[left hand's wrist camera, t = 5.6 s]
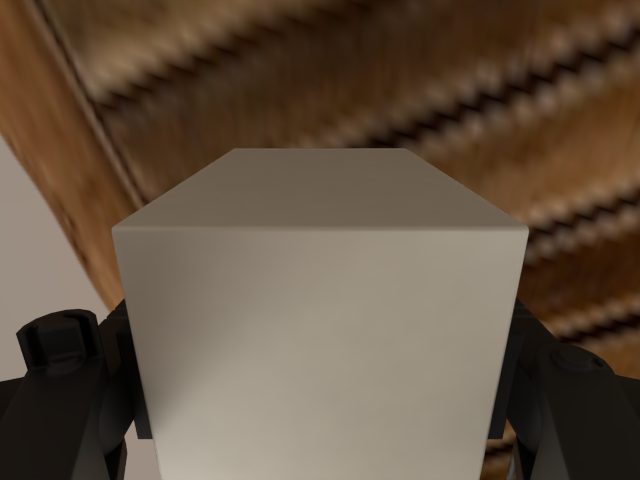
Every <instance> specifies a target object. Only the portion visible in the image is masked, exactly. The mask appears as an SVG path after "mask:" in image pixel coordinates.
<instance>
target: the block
mask: <svg viewBox="0 0 640 480" xmlns="http://www.w3.org/2000/svg"><path fill="white" fill-rule="evenodd" d="M528 234H529V230H528V227H527V226H525V225H524V224H522V223H521V222H519V221H518V220H516V219H514V218H513V217H511V216H510V215H508V214H507V213H505V212H504V211H502V210H500V209H499V208H497V207H496V206H494V205H493V204H491V203H490V202H488V201H486V200H485V199H483V198H482V197H480V196H479V195H477V194H476V193H474V192H473V191H471V190H469V189H468V188H466V187H465V186H463V185H462V184H460V183H459V182H457V181H455V180H454V179H452V178H451V177H449V176H448V175H446V174H445V173H443V172H441V171H440V170H438V169H437V168H435V167H434V166H432V165H431V164H429V163H427V162H426V161H424V160H423V159H421V158H420V157H418V156H417V155H415V154H414V153H412V152H410V151H409V150H407V149H405V148H235V149H233V150H231V151H230V152H228V153H227V154H225V155H224V156H222V157H220V158H219V159H217V160H216V161H214V162H213V163H211V164H210V165H208V166H207V167H205V168H203V169H202V170H200V171H199V172H197V173H196V174H194V175H193V176H191V177H189V178H188V179H186V180H185V181H183V182H182V183H180V184H179V185H177V186H176V187H174V188H172V189H171V190H169V191H168V192H166V193H165V194H163V195H162V196H160V197H159V198H157V199H155V200H154V201H152V202H151V203H149V204H148V205H146V206H145V207H143V208H141V209H140V210H138V211H137V212H135V213H134V214H132V215H131V216H129V217H128V218H126V219H124V220H123V221H121V222H120V223H118V224H117V225H115V226H114V227H113V228H112V237H113V242H114V247H115V252H116V257H117V262H118V267H119V272H120V277H121V282H122V287H123V292H124V297H125V302H126V307H127V312H128V317H129V322H130V327H131V332H132V337H133V342H134V347H135V352H136V357H137V362H138V367H139V372H140V377H141V382H142V387H143V392H144V397H145V402H146V407H147V412H148V417H149V422H150V427H151V432H152V437H153V442H154V447H155V452H156V457H157V462H158V467H159V472H160V477H161V480H479V478H480V473H481V468H482V463H483V458H484V453H485V448H486V443H487V438H488V433H489V428H490V423H491V419H492V414H493V409H494V404H495V399H496V394H497V389H498V384H499V379H500V374H501V369H502V364H503V359H504V354H505V349H506V344H507V339H508V334H509V329H510V324H511V319H512V314H513V309H514V304H515V299H516V294H517V289H518V284H519V279H520V274H521V269H522V264H523V259H524V254H525V249H526V244H527V239H528Z"/></svg>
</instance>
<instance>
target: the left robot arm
mask: <svg viewBox="0 0 640 480" xmlns="http://www.w3.org/2000/svg"><path fill="white" fill-rule="evenodd" d="M16 335H17V338H18V341H19V344H20V348H21V351H22V354H23V357H24V360H25V363H26V366H27V369H28V371H27V373H26V374H25V376H24V377H21V378H16V379H11V380H7V381H1V382H0V480H124V473H125V466H126V459H127V448H126V442H125V438H124V436H125V434H126V432H127V430H128V428H129V427H130V425H131V423H132V422H133V420H134V422H135V427H136V432H137V436H138V439H153V437H152V432H151V427H150V422H149V417H148V412H147V407H146V402H145V397H144V392H143V387H142V382H141V377H140V372H139V367H138V362H137V357H136V352H135V347H134V342H133V337H132V332H131V327H130V322H129V317H128V312H127V307H126V302H125V298H124V299H123V300H122V301H121V302H120V304H119V305H118V306H117V307H116V308H115V310H113V311H112V312H111V313H110V314H109V315H108V316H107V319H104V320H103V321H102V322H101V324H100V325H99V326H98V322H97V318H96V315H95V314H94V313H92V312H91V311H88V310H82V309H71V310H63V311H59V312H54V313H50V314H48V315H45V316H42V317H40V318H37V319H35V320H33V321H31V322H30V323H28V324H26V325H24V326H23V327H22V328H21V329H20V330H19V331H18V332H17V333H16ZM506 419H508V421H509V422H510V424H511V426H512V428H513V429H514V431H515V433H516V438H515V442H514V446H513V451H512V455H511V459H510V464H509V468H508V473H507V479H508V480H513V476H514V472H516V480H640V380H638V379H633V378H628V377H623V376H618V375H615V374H614V372H613V370H612V369H611V367H610V366H609V365H608V364H607V363H606V362H605V361H604V360H603V359H601V358H600V357H598V356H597V355H595V354H594V353H592V352H589V351H587V350H585V349H583V348H580V347H577V346H573V345H569V344H566V343H560V342H559V341H558V340H557V339H556V338H555V337H554V336H553V335H552V334H551V333H550V332H549V331H548V330H547V329H546V328H545V327H544V325H543V324H542V323H541V322H540V321H539V320H538V319H537V318H534V315H533V314H532V313H531V312H530V311H529V310H528V309H526V307H525V306H524V305H523V304H522V303H521V302H520V301H519V299H518V298H517V297H516V299H515V304H514V309H513V314H512V319H511V324H510V329H509V334H508V339H507V344H506V349H505V354H504V359H503V364H502V369H501V374H500V379H499V384H498V389H497V394H496V399H495V404H494V409H493V414H492V419H491V423H490V428H489V433H488V438H487V439H502V438H503V433H504V428H505V424H506Z"/></svg>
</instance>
